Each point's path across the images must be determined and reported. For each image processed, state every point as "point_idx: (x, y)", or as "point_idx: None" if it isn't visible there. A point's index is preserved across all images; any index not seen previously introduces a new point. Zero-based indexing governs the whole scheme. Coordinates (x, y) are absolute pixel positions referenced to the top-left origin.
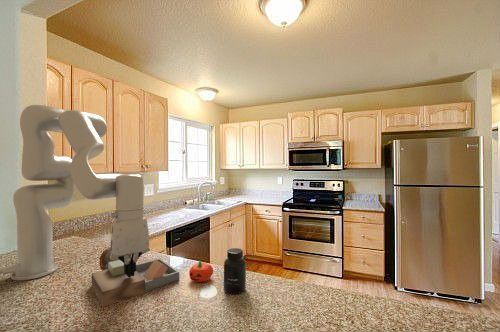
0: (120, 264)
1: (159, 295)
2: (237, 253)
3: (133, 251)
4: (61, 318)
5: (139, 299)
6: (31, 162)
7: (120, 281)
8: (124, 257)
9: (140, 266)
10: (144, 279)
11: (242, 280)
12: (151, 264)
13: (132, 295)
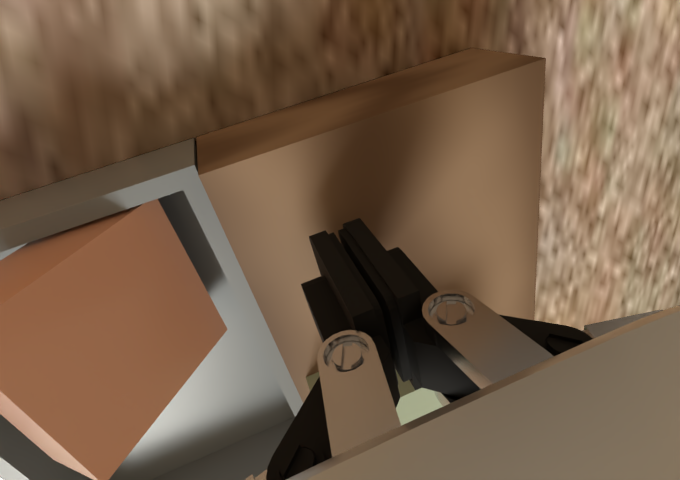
0: (420, 413)
1: (41, 14)
2: None
3: (487, 432)
4: (647, 25)
5: (234, 31)
6: None
7: (408, 212)
8: (537, 348)
9: (251, 465)
10: (202, 172)
11: None
12: (149, 421)
13: (292, 108)
